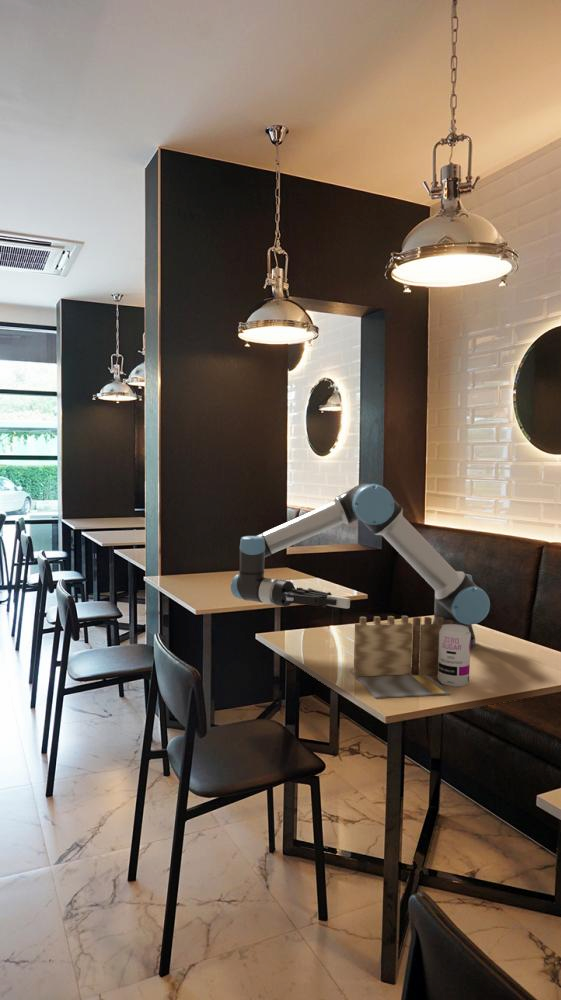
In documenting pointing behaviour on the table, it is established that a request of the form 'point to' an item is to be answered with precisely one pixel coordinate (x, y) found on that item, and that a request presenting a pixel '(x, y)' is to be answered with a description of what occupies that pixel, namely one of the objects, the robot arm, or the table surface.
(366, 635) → the fence panel
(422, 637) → the fence base
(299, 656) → the table surface
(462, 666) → the supplement can
